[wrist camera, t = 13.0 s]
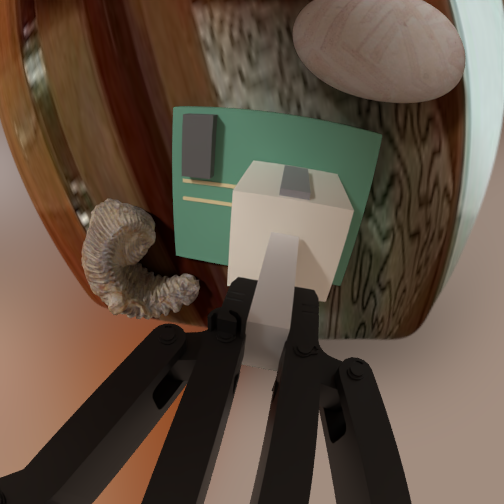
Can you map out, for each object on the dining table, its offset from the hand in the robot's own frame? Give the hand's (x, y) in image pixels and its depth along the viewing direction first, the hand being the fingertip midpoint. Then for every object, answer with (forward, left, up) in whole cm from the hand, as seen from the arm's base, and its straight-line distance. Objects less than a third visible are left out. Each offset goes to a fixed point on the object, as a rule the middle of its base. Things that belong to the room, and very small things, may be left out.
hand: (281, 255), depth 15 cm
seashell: (-14, -7, -9) cm, 18 cm away
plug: (0, 0, -7) cm, 7 cm away
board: (-2, 0, -9) cm, 9 cm away
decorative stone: (+5, +14, -9) cm, 17 cm away
